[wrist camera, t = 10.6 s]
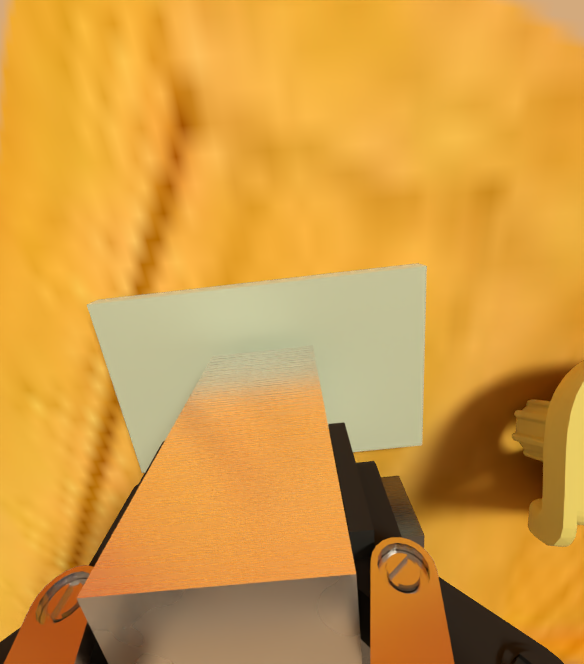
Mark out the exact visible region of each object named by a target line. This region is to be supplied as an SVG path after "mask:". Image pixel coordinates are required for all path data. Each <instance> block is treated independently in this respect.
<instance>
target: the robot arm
mask: <svg viewBox="0 0 584 664" xmlns="http://www.w3.org/2000/svg"><path fill="white" fill-rule="evenodd" d="M328 428H329V433H330V439H331V444H332V449H333V454H334V460H335V465H336V470H337V475H338V481H339V486H340V491H341V496H342V502H343V507H344V512H345V517H346V523H347V528H348V533H349V538H350V544H351V549H352V554H353V559H354V565H355V570H356V577H357V592H358V607H359V622H360V637H361V640H362V641H363V642H364V643H365V644H366V645H367V646H369V647H370V664H564V663H563V662H562V661H561V660H560V659H559V658H558V657H557V656H555V655H554V654H553V653H552V652H550V651H549V650H548V649H547V648H545V647H544V646H542V645H541V644H539V643H538V642H536V641H535V640H533V639H532V638H530V637H529V636H527V635H526V634H524V633H523V632H521V631H520V630H518V629H517V628H515V627H514V626H512V625H511V624H509V623H508V622H506V621H505V620H503V619H502V618H500V617H498V616H497V615H495V614H494V613H492V612H491V611H489V610H488V609H486V608H485V607H483V606H482V605H480V604H479V603H477V602H476V601H474V600H473V599H471V598H470V597H468V596H467V595H465V594H464V593H462V592H461V591H459V590H458V589H456V588H455V587H453V586H452V585H450V584H449V583H447V582H446V581H444V580H443V579H441V578H440V577H438V572H437V569H436V566H435V563H434V561H433V559H432V558H431V556H430V555H429V553H428V552H427V551H426V550H425V549H424V548H422V547H421V546H420V545H419V544H417V543H415V542H413V541H411V540H409V539H405V538H402V536H401V533H400V530H399V528H398V525H397V522H396V519H395V516H394V514H393V511H392V508H391V505H390V502H389V499H388V497H387V494H386V491H385V488H384V485H383V483H382V480H381V477H380V474H379V471H378V469H377V466H376V464H375V462H374V461H370V462H359V463H356V462H355V459H354V455H353V451H352V448H351V444H350V440H349V437H348V433H347V429H346V426H345V423H344V422H342V423H332V424H328ZM164 442H165V441H163V442H162V444H161V446H160V447H159V449H158V451H157V453H156V454H155V456H154V458H153V460H152V461H151V463H150V465H149V467H148V468H147V470H146V472H145V474H144V476H143V477H142V479H141V481H140V483H139V484H138V485H136V486H135V487H134V489H133V490H132V492H131V494H130V495H129V497H128V499H127V501H126V502H125V504H124V506H123V507H122V509H121V511H120V513H119V514H118V516H117V518H116V520H115V521H114V523H113V525H112V526H111V528H110V530H109V532H108V533H107V535H106V537H105V539H104V540H103V542H102V544H101V545H100V547H99V549H98V551H97V552H96V554H95V556H94V558H93V559H92V561H91V563H90V564H89V566H87V565H83V566H77V567H74V568H72V569H70V570H67V571H65V572H64V573H62V574H60V575H59V576H57V577H56V578H55V579H53V580H52V581H51V582H50V583H49V584H48V585H46V586H45V587H44V589H43V590H42V591H41V592H40V593H39V594H38V596H37V597H36V599H35V600H34V602H33V603H32V605H31V607H30V609H29V611H28V613H27V615H26V617H25V619H24V622H23V624H22V626H21V627H20V628H19V629H18V630H16V631H15V632H14V633H12V634H11V635H9V636H8V637H7V638H5V639H4V640H3V641H1V642H0V664H108V662H107V660H106V658H105V656H104V654H103V652H102V650H101V648H100V646H99V644H98V642H97V640H96V637H95V635H94V633H93V631H92V629H91V627H90V625H89V623H88V621H87V619H86V617H85V615H84V613H83V611H82V609H81V607H80V605H79V603H78V601H77V599H76V598H77V596H78V595H79V593H80V591H81V589H82V587H83V586H84V584H85V582H86V580H87V579H88V577H89V575H90V573H91V571H92V570H93V568H94V566H95V564H96V563H97V561H98V559H99V557H100V555H101V554H102V552H103V550H104V548H105V547H106V545H107V543H108V541H109V539H110V538H111V536H112V534H113V532H114V531H115V529H116V527H117V525H118V523H119V522H120V520H121V518H122V516H123V515H124V513H125V511H126V509H127V507H128V506H129V504H130V502H131V500H132V498H133V497H134V495H135V493H136V491H137V490H138V488H139V486H140V484H141V482H142V481H143V479H144V477H145V475H146V474H147V472H148V470H149V468H150V466H151V465H152V463H153V461H154V459H155V458H156V456H157V454H158V452H159V450H160V449H161V447H162V445H163V443H164Z"/></svg>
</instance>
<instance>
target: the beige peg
mask: <svg viewBox="0 0 584 664" xmlns="http://www.w3.org/2000/svg"><path fill="white" fill-rule="evenodd" d="M76 599H77V601H78V603H79V605H80V607H81V609H82V611H83V613H84V615H85V617H86V619H87V621H88V623H89V625H90V627H91V629H92V631H93V633H94V635H95V637H96V640H97V642H98V644H99V646H100V648H101V650H102V652H103V654H104V656H105V658H106V660H107V662H108V664H362V652H361V637H360V622H359V607H358V592H357V577H356V570H355V565H354V559H353V554H352V549H351V544H350V538H349V533H348V528H347V523H346V517H345V512H344V507H343V502H342V496H341V491H340V486H339V481H338V475H337V470H336V465H335V460H334V454H333V449H332V444H331V439H330V433H329V428H328V423H327V418H326V412H325V407H324V402H323V397H322V391H321V386H320V381H319V376H318V370H317V365H316V360H315V355H314V349H313V345H312V346H303V347H294V348H284V349H275V350H266V351H256V352H247V353H238V354H228V355H219V356H212V358H211V360H210V361H209V363H208V365H207V367H206V369H205V370H204V372H203V374H202V376H201V378H200V379H199V381H198V383H197V385H196V386H195V388H194V390H193V392H192V394H191V395H190V397H189V399H188V401H187V402H186V404H185V406H184V408H183V410H182V411H181V413H180V415H179V417H178V418H177V420H176V422H175V424H174V426H173V427H172V429H171V431H170V433H169V434H168V436H167V438H166V440H165V442H164V443H163V445H162V447H161V449H160V450H159V452H158V454H157V456H156V458H155V459H154V461H153V463H152V465H151V466H150V468H149V470H148V472H147V474H146V475H145V477H144V479H143V481H142V482H141V484H140V486H139V488H138V490H137V491H136V493H135V495H134V497H133V498H132V500H131V502H130V504H129V506H128V507H127V509H126V511H125V513H124V515H123V516H122V518H121V520H120V522H119V523H118V525H117V527H116V529H115V531H114V532H113V534H112V536H111V538H110V539H109V541H108V543H107V545H106V547H105V548H104V550H103V552H102V554H101V555H100V557H99V559H98V561H97V563H96V564H95V566H94V568H93V570H92V571H91V573H90V575H89V577H88V579H87V580H86V582H85V584H84V586H83V587H82V589H81V591H80V593H79V595H78V596H77V598H76Z"/></svg>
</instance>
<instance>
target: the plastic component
mask: <svg viewBox="0 0 584 664" xmlns="http://www.w3.org/2000/svg"><path fill="white" fill-rule="evenodd" d="M526 403H527V405H526V407H525V408H524V409H523V410H522V411H521V410H516V411H515V413H514V416H515V417H516V418H517V420H516V431H515V433H513V434H512V437H513V440H515V441H519V442H520V444H521V445H522V447H523V448H524V450H523V454H524V455H525V456H527V457H530V458H533V459H536V460H539V461H542V462H543V496H542V499H536V500H534V501H532V502H531V504H530V506H529V517H528V528H529V530H530V532H531V533H532V534H533V535H534V536H535V537H537V538H538V539H539V540H540V541H542V542H543V543H545V544H546V545H549V546H560V547H567V546H569V545H570V544H571V543H572V542H573V540H574V538H575V536H576V531H577V525H584V360H583V361H581V362H580V363H579V364H577V365H576V366H575V367H573V368H572V369H571V370H570V371H569V372H568V373H567V374H566V375H565V377H564V378H563V379H562V381H561V382H560V384H559V385H558V387H557V388H556V390H555V392H554V394H553V396H552V399H551V401H545V400H536V399H532V400H528V401H527V402H526Z"/></svg>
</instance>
